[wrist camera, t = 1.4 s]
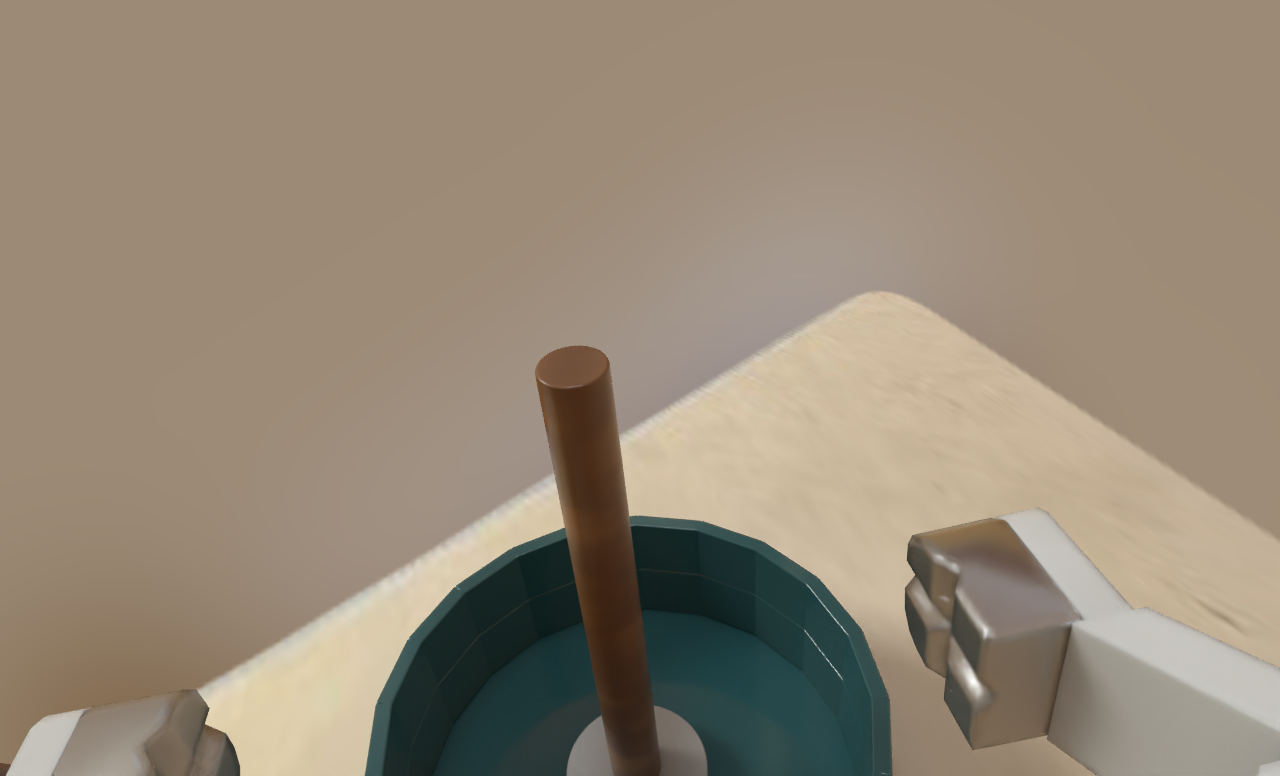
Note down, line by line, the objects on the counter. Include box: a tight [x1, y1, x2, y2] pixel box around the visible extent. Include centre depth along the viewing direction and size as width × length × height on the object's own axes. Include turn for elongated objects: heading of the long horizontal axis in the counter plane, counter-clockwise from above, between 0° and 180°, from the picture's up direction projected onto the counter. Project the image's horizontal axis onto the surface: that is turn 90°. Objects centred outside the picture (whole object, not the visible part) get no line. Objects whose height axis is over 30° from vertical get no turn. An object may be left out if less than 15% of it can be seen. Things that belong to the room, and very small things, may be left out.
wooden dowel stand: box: [535, 346, 709, 776], centre depth 26 cm, size 5×5×19 cm
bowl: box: [365, 516, 893, 776], centre depth 30 cm, size 17×17×6 cm
